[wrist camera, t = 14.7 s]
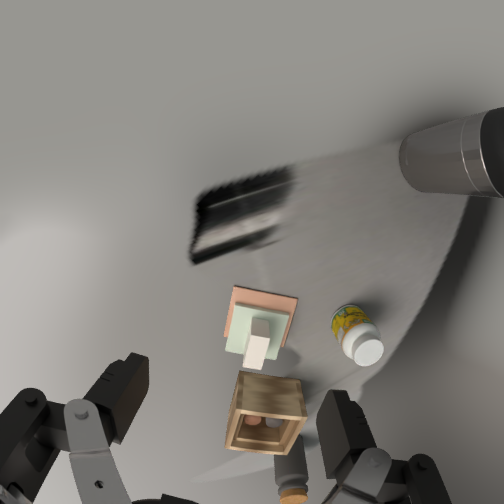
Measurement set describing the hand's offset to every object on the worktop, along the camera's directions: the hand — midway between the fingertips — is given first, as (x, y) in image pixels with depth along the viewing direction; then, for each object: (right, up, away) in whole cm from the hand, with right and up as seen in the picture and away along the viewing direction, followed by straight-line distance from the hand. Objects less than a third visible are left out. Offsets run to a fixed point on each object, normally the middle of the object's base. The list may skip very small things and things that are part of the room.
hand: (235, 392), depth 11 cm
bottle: (+8, -32, +34) cm, 47 cm away
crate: (+3, -19, +31) cm, 36 cm away
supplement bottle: (+15, -4, +28) cm, 32 cm away
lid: (+1, -5, +28) cm, 29 cm away
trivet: (+2, -3, +28) cm, 28 cm away
